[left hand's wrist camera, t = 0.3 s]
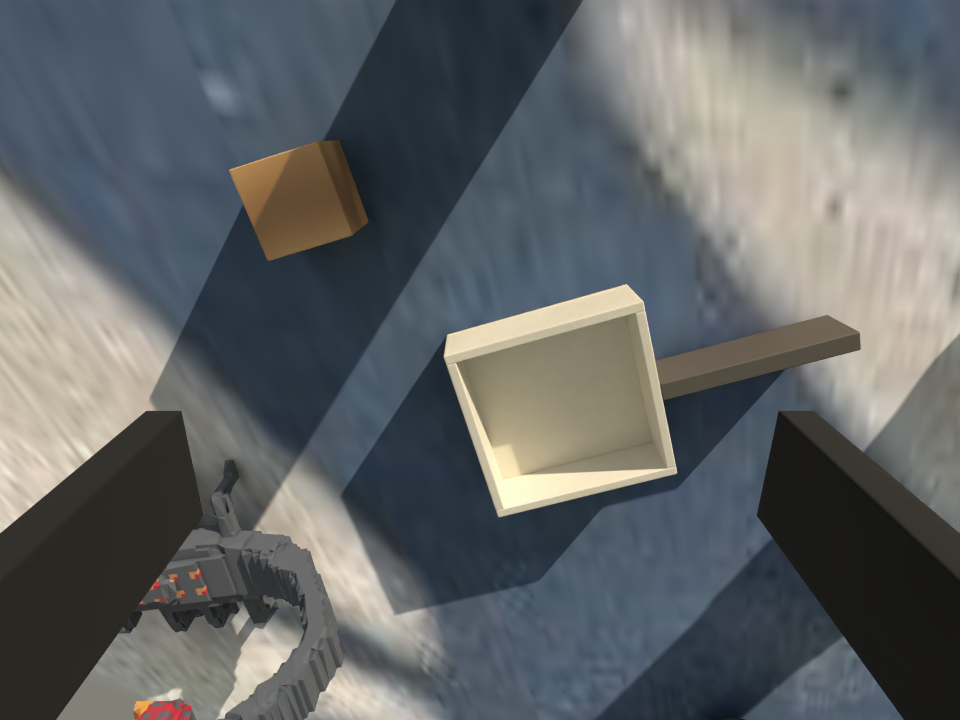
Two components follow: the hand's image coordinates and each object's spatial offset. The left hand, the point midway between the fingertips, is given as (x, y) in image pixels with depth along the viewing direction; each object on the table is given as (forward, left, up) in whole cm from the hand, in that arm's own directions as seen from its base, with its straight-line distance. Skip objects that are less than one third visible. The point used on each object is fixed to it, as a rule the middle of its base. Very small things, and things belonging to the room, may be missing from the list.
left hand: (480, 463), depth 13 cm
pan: (+11, +8, -26) cm, 29 cm away
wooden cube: (-6, -9, -26) cm, 28 cm away
